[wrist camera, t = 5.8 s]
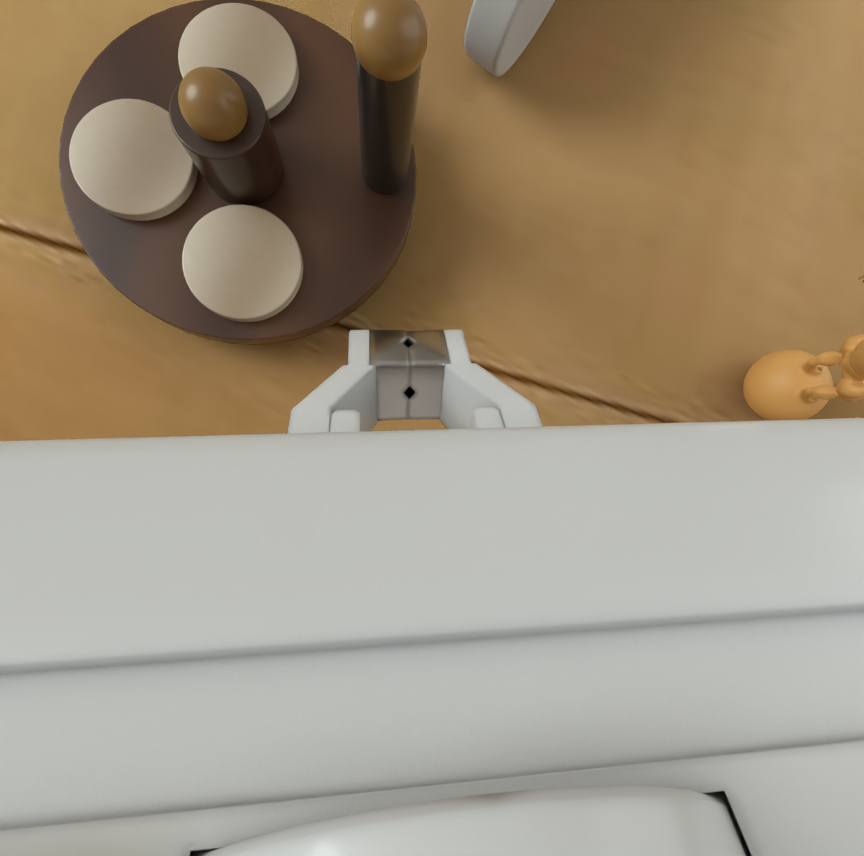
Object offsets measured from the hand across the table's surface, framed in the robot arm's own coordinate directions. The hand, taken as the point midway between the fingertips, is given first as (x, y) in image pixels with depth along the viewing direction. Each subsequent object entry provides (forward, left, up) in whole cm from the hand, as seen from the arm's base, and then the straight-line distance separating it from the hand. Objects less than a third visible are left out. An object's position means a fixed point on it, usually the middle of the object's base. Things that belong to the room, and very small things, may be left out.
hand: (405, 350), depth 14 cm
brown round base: (-5, -11, -12) cm, 17 cm away
